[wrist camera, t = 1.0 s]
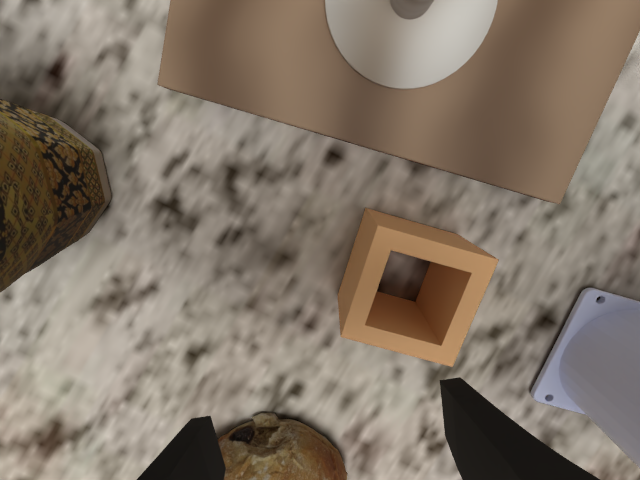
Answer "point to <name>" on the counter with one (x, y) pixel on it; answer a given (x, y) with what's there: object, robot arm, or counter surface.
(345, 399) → the counter surface
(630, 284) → the counter surface
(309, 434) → the bread roll
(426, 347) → the collar
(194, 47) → the post board
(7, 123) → the ceramic cup
